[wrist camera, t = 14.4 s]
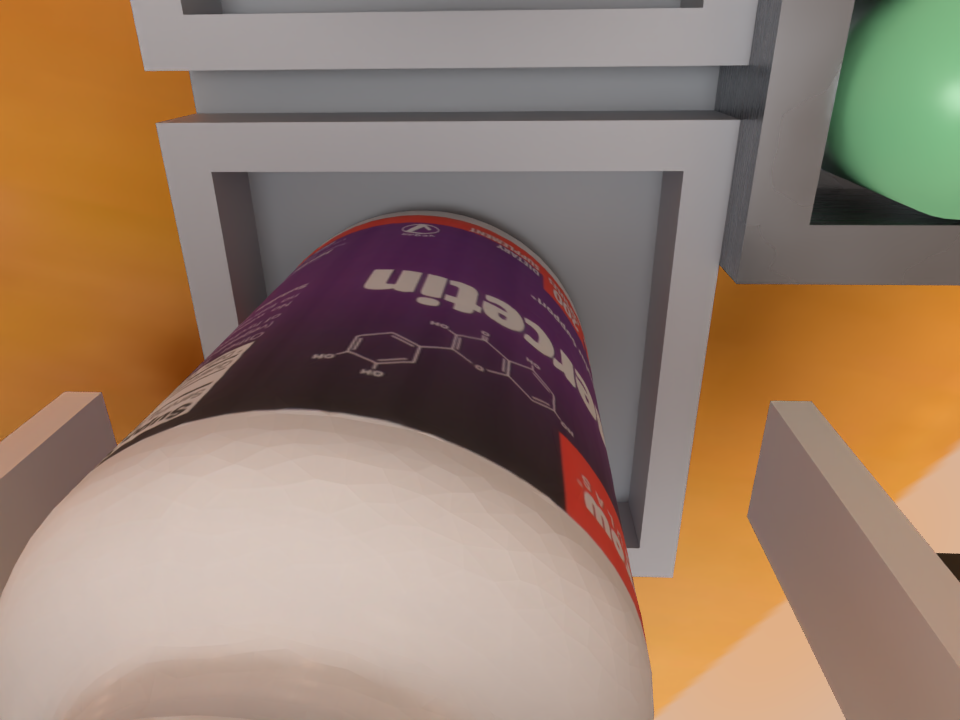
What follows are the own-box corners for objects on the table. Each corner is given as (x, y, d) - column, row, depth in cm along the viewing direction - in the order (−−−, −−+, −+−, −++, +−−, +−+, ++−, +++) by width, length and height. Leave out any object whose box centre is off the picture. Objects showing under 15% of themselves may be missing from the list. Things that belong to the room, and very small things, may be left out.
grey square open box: (686, 227, 18) (736, 283, 14) (725, -91, 15) (805, -142, 11) (961, 228, 17) (1098, 286, 13) (1060, -98, 14) (1276, -152, 10)
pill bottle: (645, 351, 18) (984, 1179, 5) (440, 518, 21) (308, 1333, 8) (420, 126, 16) (-44, 537, 3) (225, 345, 18) (-474, 1073, 5)
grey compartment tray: (284, 509, 22) (249, 579, 19) (71, -761, 11) (-86, -1041, 8) (650, 517, 22) (670, 591, 19) (814, -816, 10) (926, -1137, 8)
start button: (771, 178, 16) (846, 219, 12) (805, -18, 14) (904, -37, 10) (947, 178, 16) (1076, 219, 12) (1003, -21, 14) (1175, -42, 10)
